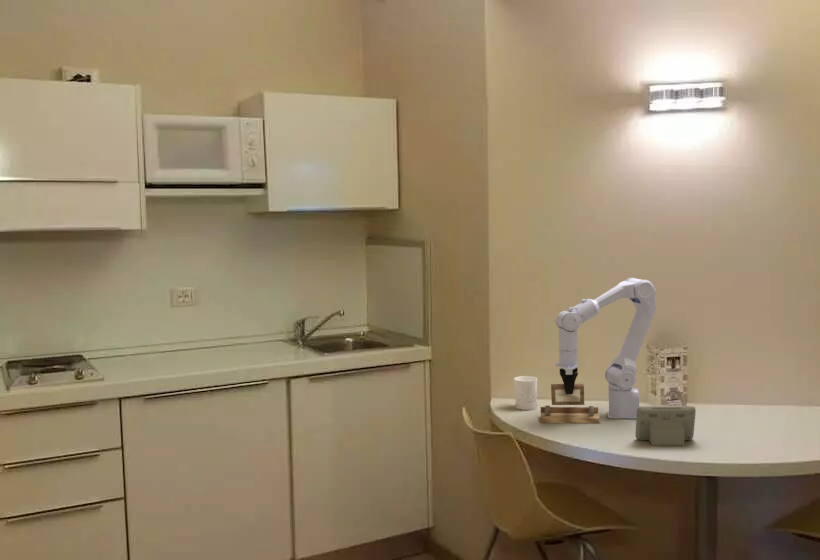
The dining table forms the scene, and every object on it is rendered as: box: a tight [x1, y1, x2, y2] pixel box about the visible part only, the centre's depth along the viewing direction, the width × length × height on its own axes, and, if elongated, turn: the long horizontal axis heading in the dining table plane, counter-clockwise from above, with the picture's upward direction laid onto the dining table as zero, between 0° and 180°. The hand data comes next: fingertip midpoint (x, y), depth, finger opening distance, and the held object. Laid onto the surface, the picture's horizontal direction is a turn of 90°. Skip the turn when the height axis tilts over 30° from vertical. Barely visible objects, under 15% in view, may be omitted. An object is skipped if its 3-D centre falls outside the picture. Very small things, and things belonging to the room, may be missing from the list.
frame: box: [550, 383, 585, 406], centre depth 250 cm, size 10×3×6 cm, turn 80°
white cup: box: [513, 375, 538, 411], centre depth 267 cm, size 8×8×10 cm
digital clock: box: [634, 405, 697, 446], centre depth 225 cm, size 16×9×11 cm, turn 71°
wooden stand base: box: [539, 405, 600, 424], centre depth 251 cm, size 18×7×4 cm, turn 80°
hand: (569, 392), depth 250 cm, fingers closed on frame, 3 cm apart
